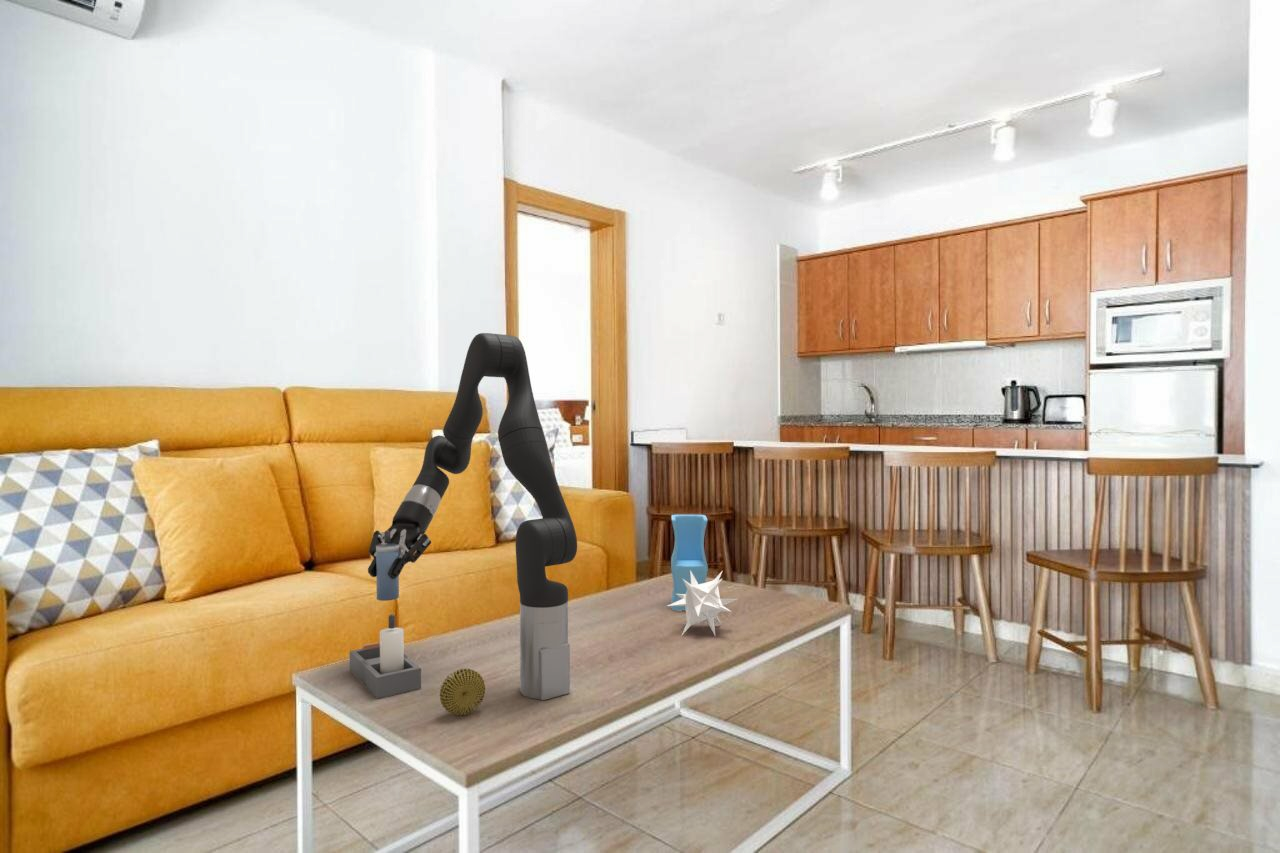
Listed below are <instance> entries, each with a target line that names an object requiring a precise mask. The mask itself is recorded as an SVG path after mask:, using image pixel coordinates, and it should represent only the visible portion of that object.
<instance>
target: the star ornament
mask: <svg viewBox="0 0 1280 853" xmlns="http://www.w3.org/2000/svg"><path fill="white" fill-rule="evenodd" d="M722 573H723V571H721V572H719V574H717V576H716V577H715V578H714V579H713V580H711V581H707V582H706V581H705V583H702V584H698V583H697V581H696V579H695V577H694V575H693V574H692V572H691V570H690V575H691V584H690V583H688V582H687V581H685V580H684V579H683V581H684V583H685V585H686V587H687V592H686V594H676V595H678V596H679V597H681V598H682V599H681V600H679V601H677V602H674V603H672V604H671V603H670V604H668V605H667V607H671V606H685V610H686V611H685V616H686V620H685V622H684V624H683V626H684V629H683V631H682V634H681V636H680V637H682V636H683V635H684V634H685V633H686V631H688V629H689V628H690V627H691V626H693V625H694V626H695V625H697V624H700V623H704V622H707V624H708V626H709V628H710V629H711V632H712V633H713V635H714V636H716V627H715V622H716V623H718V624H719V625H722V623H721V620H720V619H719V617H718V616H719V615H718V614H719V613H721V612H729V613H733V612H732V611H731V610H730V609H729V608H727V607H726V606H725V605H728V604H730V603H732V602H735V601H737V600H738V598H721V597H720V590H719V585H720V583H721V581H722V580H723V578H721V576H722Z"/></svg>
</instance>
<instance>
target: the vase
mask: <svg viewBox="0 0 1280 853" xmlns="http://www.w3.org/2000/svg"><path fill="white" fill-rule="evenodd" d="M671 524H672V528H673V534H674V546H673V550H672V554H671V557H670V564H671V565H670V566H671V568H670V569H671V575H672V580H673V581H672V582H673V587H672V596H671V600H670V604H672V603H674V602H677V601H679V600H681V599H682V598H681V597H679V596H678V595H676V594H686V592H687V587H686V585H685V583H684V581H683V579H684V580H685V581H687V582H688V583H690V584H691V575H690V570H691V572H692V574H693V575H694V577H695V579H696V581H697V583H698V584H702V583H706V580H707V574H708V567H709V566H708V562H707V558H706V557H707V556H706V552H705V534H706V528H707V524H708V518H707V515H705V514H672V515H671ZM670 608H672V609H671V610H672V611H673V610H685V606H670Z"/></svg>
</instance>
